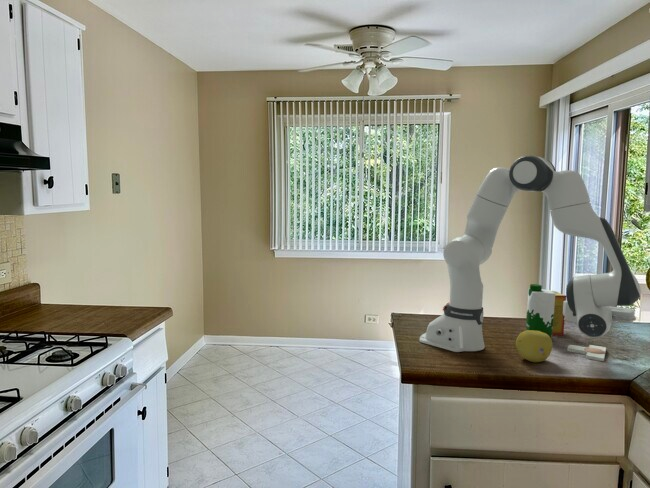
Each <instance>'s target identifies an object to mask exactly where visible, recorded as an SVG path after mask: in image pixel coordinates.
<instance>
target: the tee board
mask: <svg viewBox="0 0 650 488" xmlns="http://www.w3.org/2000/svg"><path fill="white" fill-rule="evenodd" d="M588 346H589V347H587V346H579V345H575V344H568V347H567V352H571V353H576V354H577V353H578V354H581V355H582V354H583V355H586V356H585V359H588V360H595V361H599V362H605V358H606V354H607V352H606V350H607V347H605V346H600V345H599V346H598V345H593V344H589V345H588Z"/></svg>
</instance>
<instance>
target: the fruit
mask: <svg viewBox="0 0 650 488" xmlns="http://www.w3.org/2000/svg"><path fill="white" fill-rule="evenodd" d="M515 347H516V348H515V349H516V350H517V353H518V354H519V355H520V356H521V357H522V358H524V359H525V360H526V361H528V362H531V363H541V362H545V360H547V359H548V357H549V356H550V355H551V354H552V349H553V340H552V337H551V338H550V336H549V335H547V334H546V333H543V332H540V331H534V330H526V329H525V330H523V331H522V332H520V333H519V335H518V336H517V337H516V340H515Z"/></svg>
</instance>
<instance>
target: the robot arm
mask: <svg viewBox="0 0 650 488" xmlns="http://www.w3.org/2000/svg"><path fill="white" fill-rule="evenodd" d="M520 191H523V192H528V193H529V192H530V193H533V192H534V193H535V192H541V193H543V194H544V195H545V197H546V198H547V199H546V200H547V203H548V207H549V212H550V216H551V220H552V222H553V226H554V227H555V228H556V229H557V230H558V232H559V231H560V233H562V234H565V235H567V236H572V237H579V238H584V239H590V240H593V241H596V242H598V243H599V244H600V245H601V246H602V247H603V249H604V251H605V254H606V256H607V258H608V261H609V263H610V265H611V267H612V270H611V271H609V272H603V273H597V274H586V275H585V274H583V275H578V276H573V277H572V278H570V280H569V281H568V283H567V284H566V289H565V295H566V301H564V302H563V315H564V316H565V322H569V323H575V324H577V328H578V330H579V332H580V333H582V334H583V335H584V336H587V337H588V338H600V337H603V336H605V335H606V334H607V333H608V332H609V331H610V329H611V327H612V322H615V323H622V324H631V323H633V322H634V321H635V322H636V320H637V319H636V318H637V317H636V316H635V313H636V310H635V309H633V308H627V306H630V307H631V306H632V305H634V304H635V303H636V302H637V301H638V300H639V299H640V298H641V293H642V291H641V285H640V283H639V281H638V279H637V277H636V276H635V275H634V273H633V272H632V270H631V268H630V265H629V264H628V261H627V259H626V257H625V254H624V252H623V250H622V247H621V245H620V243H619V241H618V238H617V237H616V234H615V231H614V230H613V228H612V226H611V224H610V222H609V221H608V219H606V218H604V217H601V216H599V215H598V214H597V213H596V212H595V211H594V209H593V207H592V204H591V200H590V199H591V198H590V194H589V192H588V189H587V187H586V184H585V182H584V180H583V178H582V175H581V174H580V173H579V172H577V171H575V170H570V169H569V170H567V169H566V170H561V171H556V168H555V166H554V164H553V163H552V162H551V161H549V160H548V159H546V158H544V157H542V156H538V155H537V156H536V155H524V156H520V157H519V158H517V159H516V160H515V161H513V162H512V164H511V165H510V168H507V167H503V166H499V167H493V168H492V169H490V170H489V172H488V173H487V175H486V176H485V177H484V179H483V181H482V183H481V184H480V186H479V188H478V190H477V192H476V194H475V195H474V198H473V200H472V203H471V205H470V207H469V209H468V212H467V215H466V219H467V220H466V224H465V229H464V233H463V235H462V236H457V237H454V238H453V239H451V240H450V241H448V243H446V245H445V246H444V249H443V252H442V253H443V254H442V255H443V259H444V261H445V263H446V264H447V269H448V276H449V302H448V303H446V304H445V305H444V306H443V307H442V312H443V314H441V315H440V316H438V317H436V318H435V319H434V320H432V321H430V322H429V324H428V325H427V328H426V332H424V333H422V334H421V335H420V337H419V342H420V343H422V344H425V345H429V346H433V347H437V348H440V349H444V350H447V351H451V352H454V353H460V352H478V351H482V350H484V349H485V348H486V347H485V342H484V336H483V335H484V334H483V325H482V324H483V322H484V307H483V297H484V283H483V282H482V278H481V270H480V265H483V264H485V263H486V261H488V260H489V258H490V257H491V255H492V251H493V247H494V243H495V240H496V238H497V237H496V236H497V233H498V230H499V228H500V225H501V223H502V221H503V219H504V216H506V215H505V214H506V213H507V210H508V209H509V206H510V203H511V201H512V199H513V198H514V196H515V195H516V193H517V192H520Z"/></svg>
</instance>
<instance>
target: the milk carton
mask: <svg viewBox="0 0 650 488" xmlns="http://www.w3.org/2000/svg"><path fill="white" fill-rule="evenodd" d="M527 289H528V290H527V304H526V317H525V318H526V320H525V331H526V330H534V331H540V332H543V333H546V334H547V335H549V336H550V338H551V339H552V336H553V335H552V329H553V319H554V305H555V293H554V292H552V291H553V290H551V289H543V286H542V285H541V284H538V283H536V284H535V283H531V284H530V285H529V288H527Z"/></svg>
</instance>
